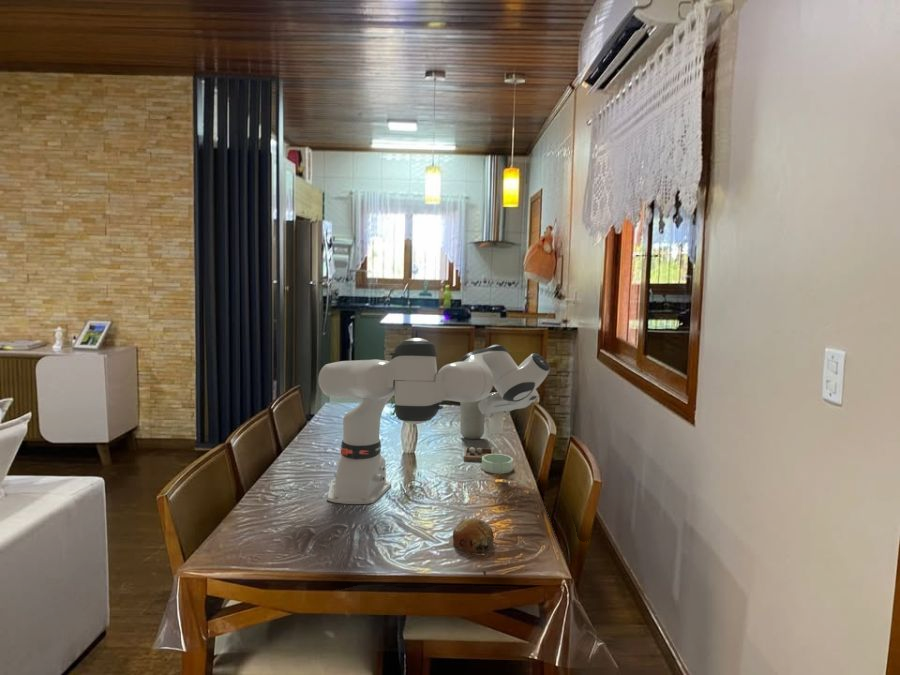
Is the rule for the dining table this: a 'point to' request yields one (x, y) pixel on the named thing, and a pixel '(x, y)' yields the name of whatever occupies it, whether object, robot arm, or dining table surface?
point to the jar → (496, 423)
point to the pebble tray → (476, 454)
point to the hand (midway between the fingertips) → (495, 414)
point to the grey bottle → (471, 420)
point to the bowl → (497, 463)
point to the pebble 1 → (472, 450)
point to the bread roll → (473, 535)
